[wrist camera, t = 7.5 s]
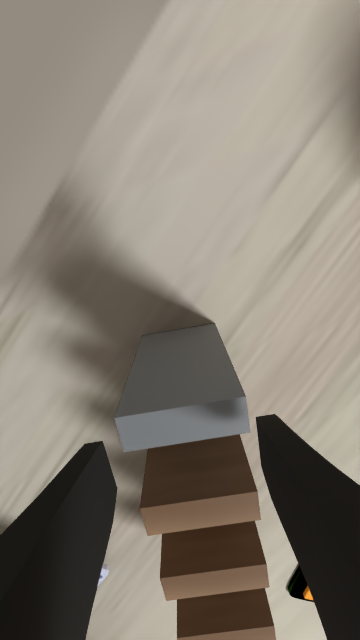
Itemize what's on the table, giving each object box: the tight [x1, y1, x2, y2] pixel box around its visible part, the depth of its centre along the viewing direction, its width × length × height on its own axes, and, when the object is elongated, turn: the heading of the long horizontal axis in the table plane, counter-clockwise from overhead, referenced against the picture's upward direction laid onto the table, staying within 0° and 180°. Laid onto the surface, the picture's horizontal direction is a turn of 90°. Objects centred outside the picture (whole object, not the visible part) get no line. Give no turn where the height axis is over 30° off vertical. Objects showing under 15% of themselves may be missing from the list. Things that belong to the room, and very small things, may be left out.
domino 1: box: [114, 323, 250, 452], centre depth 15 cm, size 2×5×9 cm, turn 100°
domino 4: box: [177, 588, 276, 640], centre depth 19 cm, size 2×5×9 cm, turn 100°
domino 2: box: [140, 434, 261, 536], centre depth 16 cm, size 2×5×9 cm, turn 100°
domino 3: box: [160, 521, 269, 601], centre depth 18 cm, size 2×5×9 cm, turn 100°
